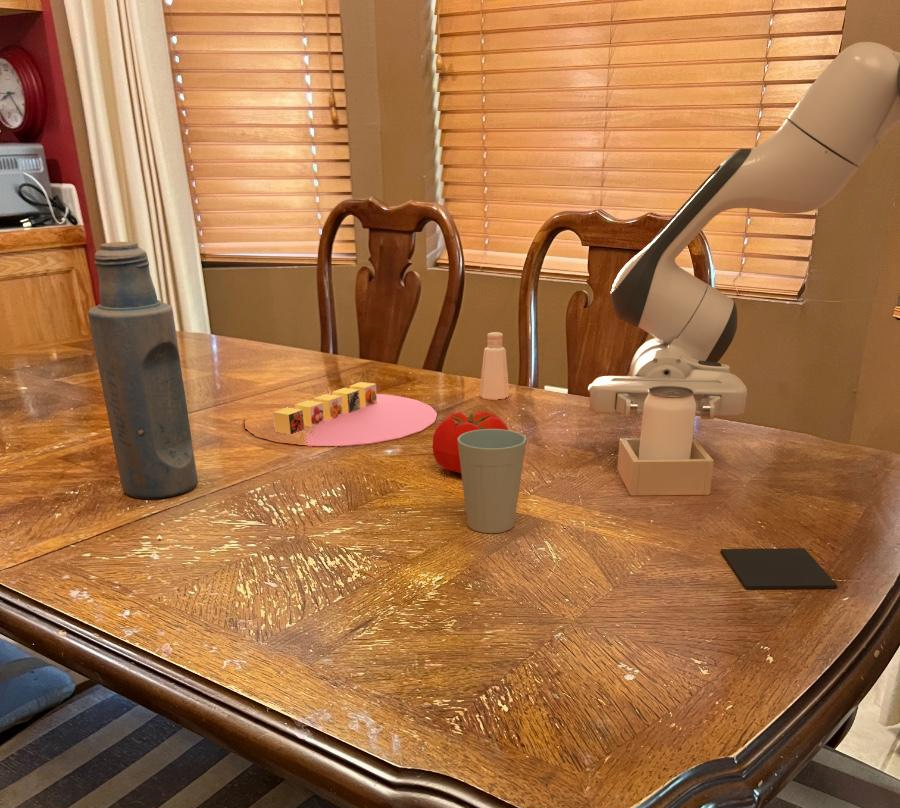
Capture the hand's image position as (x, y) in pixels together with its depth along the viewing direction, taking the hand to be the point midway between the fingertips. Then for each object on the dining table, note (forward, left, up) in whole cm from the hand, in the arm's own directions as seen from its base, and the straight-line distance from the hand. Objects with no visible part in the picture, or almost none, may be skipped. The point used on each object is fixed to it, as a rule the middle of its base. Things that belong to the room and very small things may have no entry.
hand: (669, 411), depth 108 cm
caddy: (0, 0, -9) cm, 9 cm away
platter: (+46, -33, -10) cm, 58 cm away
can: (0, 0, -10) cm, 10 cm away
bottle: (+66, 0, -10) cm, 67 cm away
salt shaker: (+20, -46, -10) cm, 51 cm away
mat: (-6, +27, -9) cm, 29 cm away
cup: (+23, +14, -10) cm, 29 cm away
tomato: (+25, -6, -10) cm, 27 cm away
